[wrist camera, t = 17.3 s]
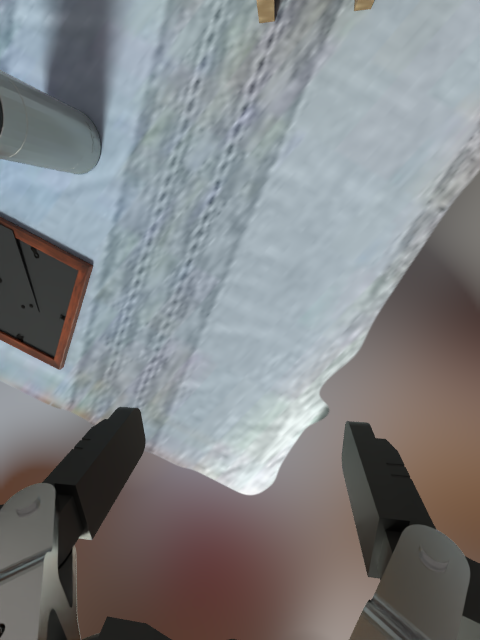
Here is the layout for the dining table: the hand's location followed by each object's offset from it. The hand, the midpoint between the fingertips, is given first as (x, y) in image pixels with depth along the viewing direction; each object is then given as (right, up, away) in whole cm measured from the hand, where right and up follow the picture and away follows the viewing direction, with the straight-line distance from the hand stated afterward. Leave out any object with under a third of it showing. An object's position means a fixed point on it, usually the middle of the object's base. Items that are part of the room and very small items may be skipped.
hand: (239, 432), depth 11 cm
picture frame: (-42, +9, +47) cm, 63 cm away
